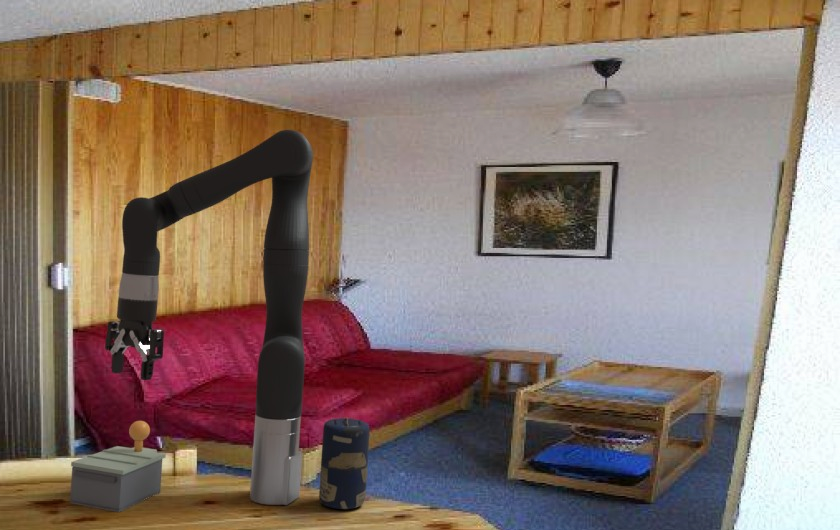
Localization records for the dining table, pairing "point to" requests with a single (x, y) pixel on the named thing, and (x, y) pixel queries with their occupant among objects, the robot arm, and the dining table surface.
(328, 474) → the canister
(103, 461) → the lid
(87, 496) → the parts tub
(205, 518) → the dining table surface
